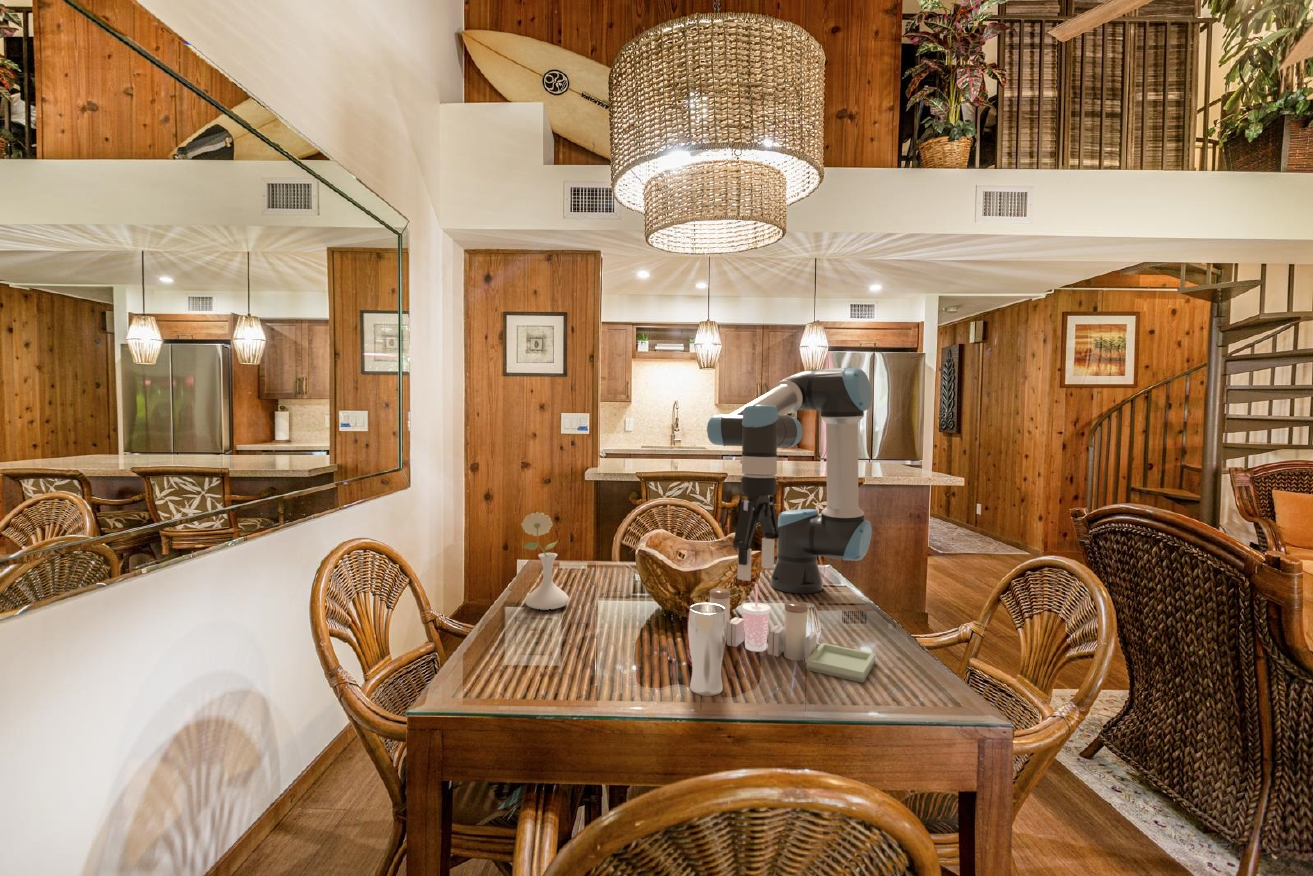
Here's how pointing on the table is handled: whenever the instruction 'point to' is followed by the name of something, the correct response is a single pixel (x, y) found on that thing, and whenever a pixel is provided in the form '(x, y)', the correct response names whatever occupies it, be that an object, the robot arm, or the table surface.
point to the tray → (841, 662)
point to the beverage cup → (756, 624)
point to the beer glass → (707, 647)
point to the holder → (773, 638)
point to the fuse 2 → (795, 630)
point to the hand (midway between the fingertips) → (756, 573)
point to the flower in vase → (547, 591)
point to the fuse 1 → (721, 601)
